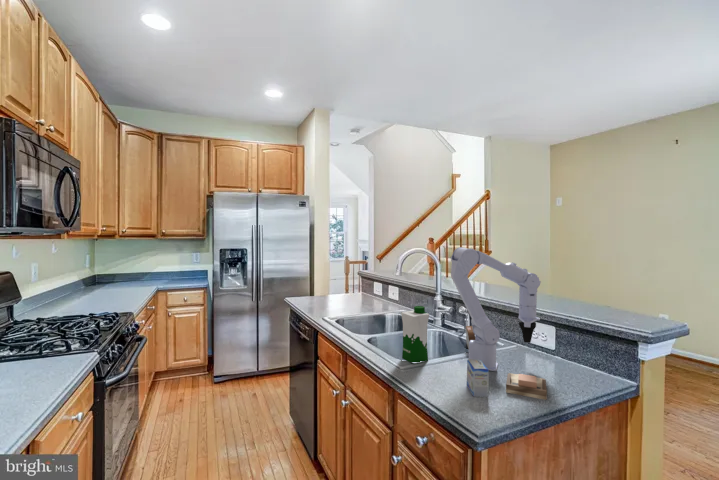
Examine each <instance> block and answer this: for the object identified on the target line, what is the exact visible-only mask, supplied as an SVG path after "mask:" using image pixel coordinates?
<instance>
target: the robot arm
mask: <svg viewBox="0 0 719 480" xmlns="http://www.w3.org/2000/svg"><path fill="white" fill-rule="evenodd" d="M450 261H451V266H450V267H451V268H450V277H451V280H452V281H453V283H454V286H455V287H456V289H457V291H458V294H459V296H460V298H461V300H462V302H463V303H464V307H465V308H466V310H467V312H468V314H469V316H470V318H471V319H470V322H471V326H472V328H473V332H474V334H475V340H470V342H469V350H468V359H478V360H481V361H482V362H483V363H484V365H485V366H486V367H487V368H488V370H489V372H490V371H491V372H497V370H498V367H499V363H498V362H497V343H498V342H499V340H500V338H501V333H500V331H499V329H498V328H497V327H495V326H494V324H493V322H492V321H491V320H490V319H489V317H488V316H487V314H486V312H485V310H484V308H483V307H482V304H481V302H480V300H479V298H478V296H477V294H476V292H475V290H474V288H473V286H472V284H471V282H470V279H469V277H468V276H469V275H470V272H471V271H472V270H473V269H474V268H475V266H476V265H485V266H487V267H489V268H491V269H493V270H495V271H498V272H499V273H500V276H501V277H503V278H504V279H507V280H509V281H511V282H512V283H514V284H516V285H517V286H518V287H519V294H518V301H519V302H518V303H519V304H518V315H517V316H518V319H519V321H518V325H519V328H520V331H521V334H522V339H523V343H529V344H531V343H532V337H533V334H534V331H535V328H537V322H536V321H540V320H541V318H540V317H537V297H538V296H537V295H538V289H539V287H540V285H541V283H542V281H541V280H540V277H539V276H538V275H537V274H536V273H533V272H529V270H528V269H527V268H522V267H521V266H520V267H519V266H518V265H517V263H515V262H506V263H504V262H502V261H500V260H498V259H496V258H494V257H493V256H491V255H488V254H487V253H485V252H482V251H479V250H475V249H474V248H466V247H456V249H454V251H453V252H452V255H451V257H450Z"/></svg>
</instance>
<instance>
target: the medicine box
mask: <svg viewBox="0 0 719 480" xmlns="http://www.w3.org/2000/svg"><path fill="white" fill-rule="evenodd" d="M489 374H490V370H488V368H487V367H486V366H485V365H484V363H483V362H482V361H481V360H478V359H469V358H468V359H467V360H466V386H467V388H468V389H469V391H470V393H471V395H472V397H474V398H488V397H489V383H490V381H489V379H490V375H489Z"/></svg>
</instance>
